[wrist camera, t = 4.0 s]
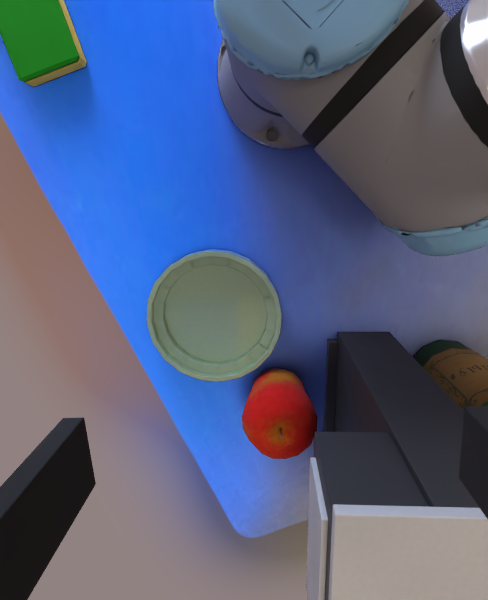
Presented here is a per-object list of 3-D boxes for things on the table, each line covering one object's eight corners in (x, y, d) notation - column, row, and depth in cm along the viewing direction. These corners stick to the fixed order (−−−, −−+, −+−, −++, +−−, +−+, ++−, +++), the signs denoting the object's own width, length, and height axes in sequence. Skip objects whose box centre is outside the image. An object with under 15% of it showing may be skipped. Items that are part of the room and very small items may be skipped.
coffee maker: (288, 445, 55) (317, 732, 26) (290, 331, 51) (327, 514, 22) (380, 446, 55) (520, 742, 25) (389, 331, 51) (568, 520, 21)
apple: (235, 371, 53) (228, 418, 42) (296, 349, 52) (305, 392, 41) (259, 425, 55) (258, 485, 43) (318, 406, 54) (333, 462, 42)
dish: (128, 289, 51) (120, 295, 48) (238, 223, 48) (236, 225, 46) (196, 391, 54) (193, 402, 51) (303, 334, 51) (305, 343, 49)
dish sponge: (31, 88, 46) (19, 82, 43) (-23, -48, 43) (-40, -62, 40) (88, 66, 45) (79, 58, 43) (37, -74, 42) (23, -91, 40)
